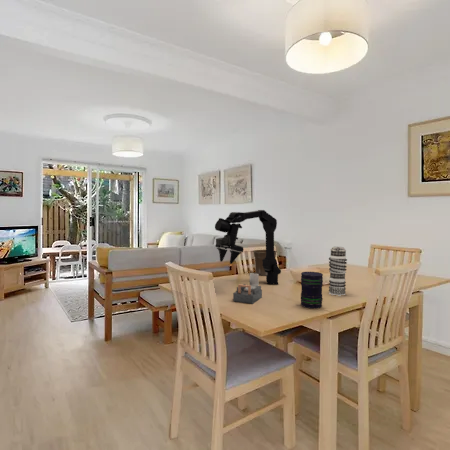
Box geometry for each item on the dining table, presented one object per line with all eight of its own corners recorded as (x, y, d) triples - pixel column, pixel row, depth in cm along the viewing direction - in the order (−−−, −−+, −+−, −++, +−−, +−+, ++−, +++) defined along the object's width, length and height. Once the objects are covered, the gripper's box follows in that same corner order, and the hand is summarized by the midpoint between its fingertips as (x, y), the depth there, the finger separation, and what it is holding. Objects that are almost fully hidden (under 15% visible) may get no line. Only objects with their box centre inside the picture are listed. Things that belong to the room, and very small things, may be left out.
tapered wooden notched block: (250, 286, 172) (250, 273, 171) (258, 287, 170) (258, 273, 169) (243, 290, 163) (243, 276, 162) (251, 291, 161) (251, 277, 160)
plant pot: (249, 272, 232) (249, 249, 232) (270, 271, 237) (270, 249, 237) (258, 277, 217) (258, 252, 216) (280, 275, 222) (280, 252, 221)
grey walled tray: (243, 295, 171) (243, 283, 171) (261, 297, 167) (262, 285, 166) (233, 301, 159) (233, 288, 159) (252, 304, 155) (252, 291, 155)
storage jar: (306, 301, 161) (306, 270, 160) (325, 305, 154) (326, 273, 154) (296, 305, 153) (297, 273, 152) (316, 309, 147) (317, 276, 146)
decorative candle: (334, 296, 169) (335, 248, 168) (324, 292, 178) (325, 246, 177) (350, 295, 171) (351, 247, 170) (339, 291, 180) (340, 246, 179)
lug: (239, 292, 161) (239, 284, 160) (250, 293, 158) (251, 285, 158) (238, 292, 159) (238, 284, 159) (250, 294, 157) (250, 286, 157)
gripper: (210, 230, 183) (204, 257, 182) (230, 232, 168) (223, 262, 166) (226, 234, 190) (220, 261, 188) (246, 236, 174) (240, 266, 173)
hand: (225, 262), depth 179 cm, fingers open, 9 cm apart
